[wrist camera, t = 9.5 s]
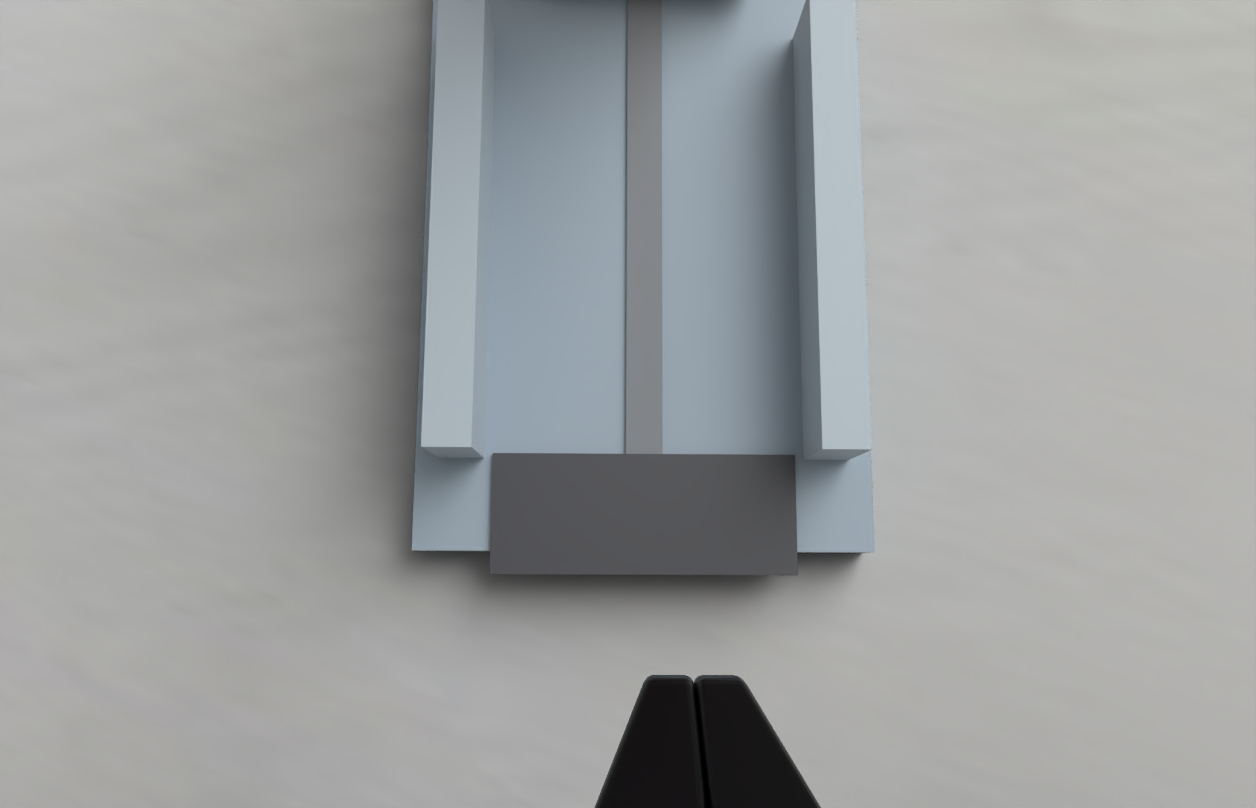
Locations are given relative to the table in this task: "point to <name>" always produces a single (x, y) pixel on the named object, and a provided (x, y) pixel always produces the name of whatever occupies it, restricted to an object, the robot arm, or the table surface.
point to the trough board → (644, 288)
